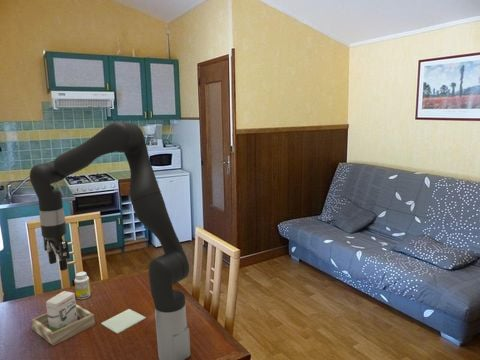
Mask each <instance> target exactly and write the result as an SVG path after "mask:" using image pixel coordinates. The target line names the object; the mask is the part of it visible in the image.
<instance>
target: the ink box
mask: <svg viewBox="0 0 480 360" xmlns="http://www.w3.org/2000/svg"><path fill="white" fill-rule="evenodd" d="M76 304H77V303H76V292H75V293H74V292H70V291H68V290H67V291H66V290H64V291H61V292H60V293H58V294H56V295H54V296H53V297H51V298H49V299H47V300H46V302H45V306H46V307H45V308H46V313H47V315H48V322H49V324H48V329H50V330H51V331H52V332H55V331H57V330H59V329H61V328H63V327H66V326H68V325H70V324H72V323H74V322H76V321H78V320H79V319H78V317H77V311H76Z"/></svg>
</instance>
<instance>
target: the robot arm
mask: <svg viewBox="0 0 480 360" xmlns="http://www.w3.org/2000/svg"><path fill="white" fill-rule="evenodd" d="M146 143H147V142H146V138H145V135H144V132H143V131H142V129H141V127H140V126H139V125H137V124H136V123H133V122H127V121H114V122H111V123H109V124H108V125H107V126H105V127H103V129H101V130H100V131H98V132H97V133H96V134H95V135H93V136H91V137H90V138H89V139H88V140H86V141H85V142H83V143H81V144H79V145H78V146H76V147H73V148H72V149H69V150H67V151H65V152H63V153H61V154H59V155H58V156H56V158H55V159H54V160H52V161H48V162H45V163H39V164H36V165H33V166H32V168H31V169H30V171H29V181H30V183H31V186H32V188H33V190H34V193H35V194H36V196H37V199H38V208H39V221H40V223H39V224H40V232H41V236H42V238H43V248H44V251H45V252H46V254H48V255H47V257H48V263H49V264H50V265H53V264H56V263H57V258H58V264H59V271H61V272H64V271H66V270H67V269H68V261H67V259H70V258H71V257H70V249H69V243H68V240H65V241H64V239H63V237H64V236H65V235H66V234H67V226H66V225H67V224H66V215H65V211H64V207H63V206H64V205H63V204H64V203H63V198H62V197H63V196H62V193H61V191H59V190H55V189H54V190H53V188H52V186H51V184H55V183H58V182H61V181H62V180H64V179H66V178H67V177H69V176H70V175H73V174H76V173H78V172H79V171H82V170H83V169H86V168H88V166H90V165H91V164H92V163H93V162H94V161H95V160H96V159H98V158H99V157H102V156H105V155H107V154H112V153H123V154H124V155H125V158H126V161H127V164H128V166H129V170H130V171H129V172H130V178H129V179H130V180H129V181H130V182H129V189H128V190H129V193H128V194H129V198H130V199H129V200H130V203H131V205H132V209H133V211H134V213H135V216H136V218H137V220H138V221H139V222H140V224H141V225H143V226H144V227H145V228H146V229H148V230H149V231H150V232H151V233H152V234H153V235H154V236H155V237H156V238H157V240H158V241H159V243H160V246H161V248H162V249H163V253H164V254H162V255H159V256H157V257H155V258H153V259H152V260H150V262H149V265H148V279H149V285H150V292H151V293H150V294H151V297H152V298H151V299H152V300H153V303H154V315H155V317H154V318H155V330H156V341H157V343H156V345H157V353H158V360H186V359H188V358H189V357H190V356H191V341H190V340H191V339H190V328H189V327H188V325H187V308H186V295H185V293H184V292H183V291H181V290H179V289H174V288H173V285H175V284H177V283H178V282H180V281H183V280H184V279H186V278H187V277H188V276H189V273H190V264H189V260H188V258H187V256H186V253H185V250H184V249H183V246H182V245H181V241H180V240H179V237H178V235H177V233H176V231H175V229H174V226H173V223H172V221H171V218H170V215H169V212H168V209H167V207H166V203H165V199H164V197H163V195H162V190H161V189H160V187H159V184H158V181H157V180H158V179H157V178H156V175H155V172H154V169H153V167H152V164H151V163H152V162H151V160H150V156H149V152H148V147H147V144H146Z"/></svg>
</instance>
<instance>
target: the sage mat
mask: <svg viewBox="0 0 480 360" xmlns="http://www.w3.org/2000/svg"><path fill="white" fill-rule="evenodd" d="M145 319H146V316H144V315H142V314H140V313H139V312H136V311H134V310H132V309H131V308H128V309H126V310H124V311H122V312H120V313H118V314H116V315H114V316H112V317H110V318H108V319H106V320H104V321H103V322H101V324H100V325H102V327H105V328H107V329H109V330H110V331H112V332H113V333H115V334H117V335H118V334H121V333H122V332H123V331H125V330H127V329H129V328H131V327H132V326H135V325H136V324H138V323H140V322H141V321H143V320H145Z"/></svg>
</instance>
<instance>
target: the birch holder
mask: <svg viewBox="0 0 480 360" xmlns="http://www.w3.org/2000/svg"><path fill="white" fill-rule="evenodd" d="M76 311H77V318H79V319H78V321H76V322H74V323H72V324H70V325H68V326H66V327H63V328H61V329H59V330H57V331H55V332H52V331H51V330H50V329H49V327H47V325H48V326H49V322H48V315H47V312H46V313H44V314H41V315H39V316H36V317H34V318H32V319H31V320H30V321H31V326H32V330H33V332H35V333H36V334H38V335H39V336H40V337H41V338H43V339H44V340H45V341H46V342H47V343H49V344H51V345H52V346H56V345H58V344H60V343H62V342H63V341H65V340H68V339H70V338H72V337H74V336H75V335H78V334H79V333H81V332H84V331H85V330H88V329H89V328H91V327H93V326H95V325H96V321H95V314H94V313H92V312H90V311H88V310H87V309H85V308H84V307H82V306H80V305H78V304H77V303H76Z"/></svg>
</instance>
